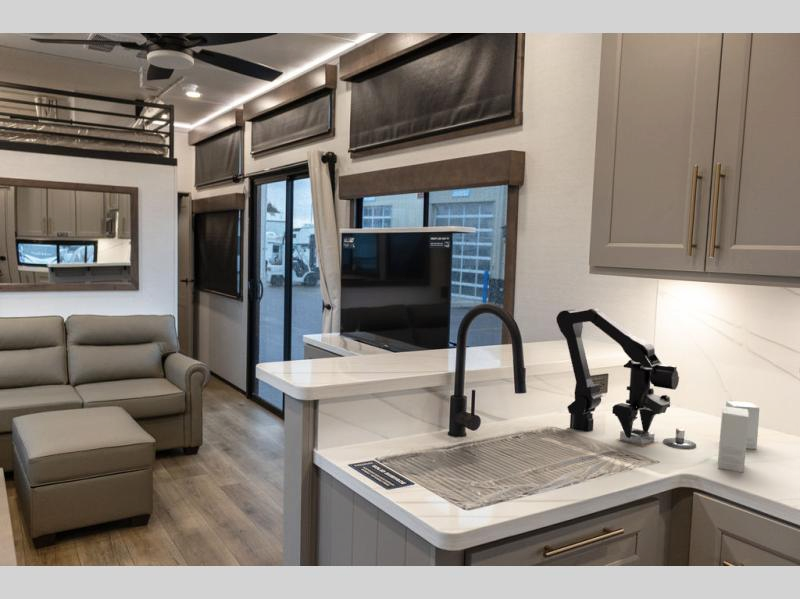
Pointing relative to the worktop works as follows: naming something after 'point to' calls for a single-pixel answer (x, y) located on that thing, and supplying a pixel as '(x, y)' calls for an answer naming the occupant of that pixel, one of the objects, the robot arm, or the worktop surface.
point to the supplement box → (753, 421)
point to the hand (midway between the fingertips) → (637, 435)
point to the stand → (638, 434)
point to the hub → (679, 441)
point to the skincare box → (733, 438)
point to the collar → (638, 437)
